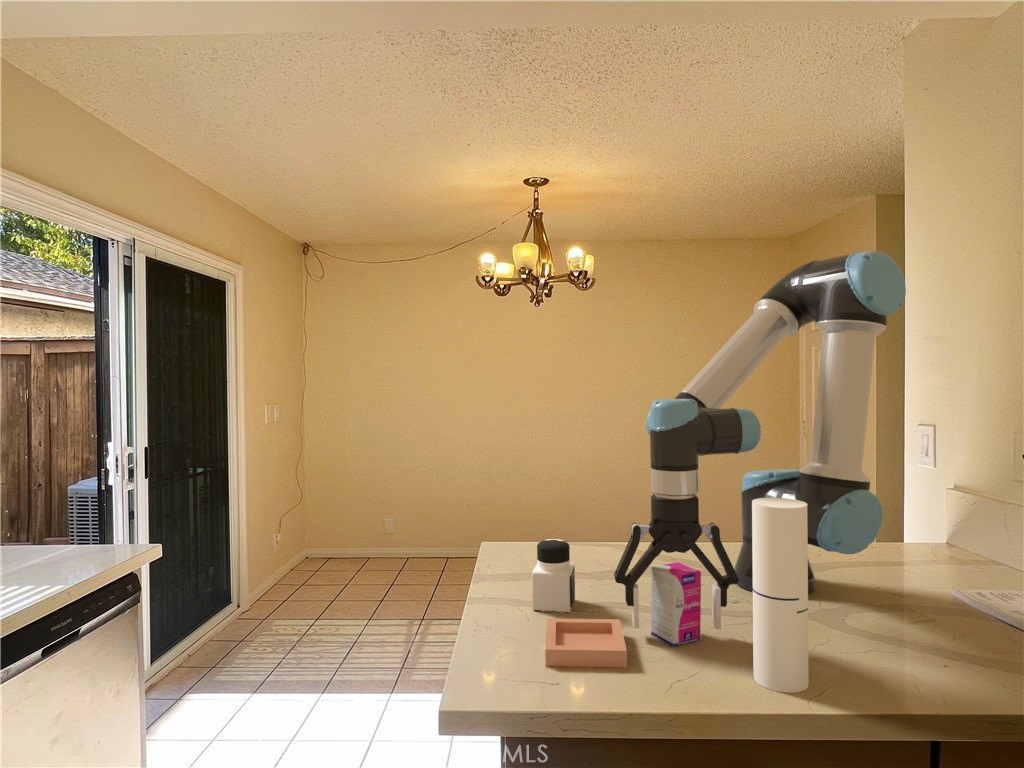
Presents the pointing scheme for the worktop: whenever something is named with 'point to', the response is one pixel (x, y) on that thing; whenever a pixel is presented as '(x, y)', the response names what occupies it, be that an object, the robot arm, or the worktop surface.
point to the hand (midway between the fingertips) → (675, 625)
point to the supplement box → (676, 603)
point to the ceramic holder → (585, 643)
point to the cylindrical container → (780, 594)
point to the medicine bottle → (553, 577)
